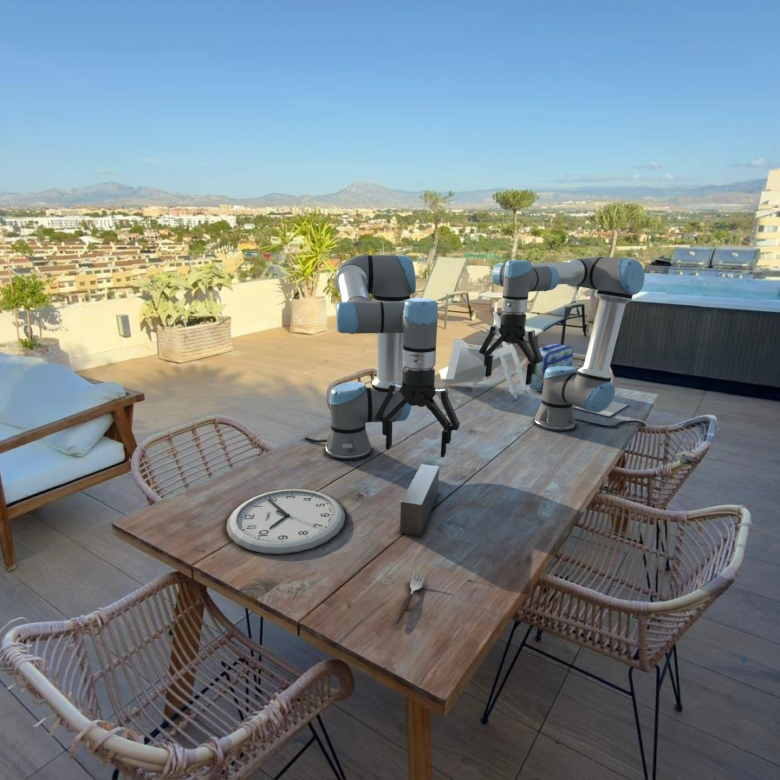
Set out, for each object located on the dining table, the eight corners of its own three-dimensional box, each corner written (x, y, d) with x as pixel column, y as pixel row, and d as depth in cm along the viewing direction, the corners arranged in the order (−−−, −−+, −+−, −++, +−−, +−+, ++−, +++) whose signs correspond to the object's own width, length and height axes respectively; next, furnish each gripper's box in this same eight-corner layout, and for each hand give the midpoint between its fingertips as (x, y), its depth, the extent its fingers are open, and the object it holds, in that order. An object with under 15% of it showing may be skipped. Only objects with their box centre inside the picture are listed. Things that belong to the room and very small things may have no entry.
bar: (420, 491, 151) (421, 463, 149) (438, 494, 150) (439, 466, 147) (399, 532, 131) (400, 501, 128) (420, 536, 129) (421, 504, 127)
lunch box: (545, 396, 239) (550, 351, 232) (524, 391, 246) (528, 347, 240) (572, 385, 256) (577, 343, 250) (552, 380, 263) (557, 339, 257)
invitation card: (608, 416, 214) (573, 407, 224) (608, 416, 214) (573, 408, 224) (628, 404, 229) (594, 396, 238) (628, 405, 229) (594, 397, 238)
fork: (390, 624, 100) (390, 615, 100) (415, 574, 115) (415, 567, 114) (403, 627, 99) (403, 619, 99) (426, 577, 114) (426, 569, 113)
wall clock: (345, 545, 122) (213, 550, 119) (345, 551, 122) (214, 556, 120) (344, 484, 150) (238, 487, 148) (345, 490, 151) (239, 492, 148)
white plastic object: (461, 429, 252) (437, 405, 227) (444, 352, 274) (420, 323, 250) (535, 404, 240) (518, 377, 215) (510, 326, 262) (492, 293, 237)
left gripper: (362, 365, 120) (362, 450, 127) (470, 376, 113) (464, 465, 120) (372, 358, 127) (371, 438, 134) (475, 367, 120) (469, 451, 127)
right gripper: (471, 309, 163) (467, 375, 169) (549, 318, 148) (541, 390, 155) (482, 307, 168) (478, 370, 175) (558, 315, 154) (550, 384, 160)
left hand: (415, 451), depth 127 cm, fingers open, 13 cm apart
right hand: (507, 380), depth 165 cm, fingers open, 13 cm apart
